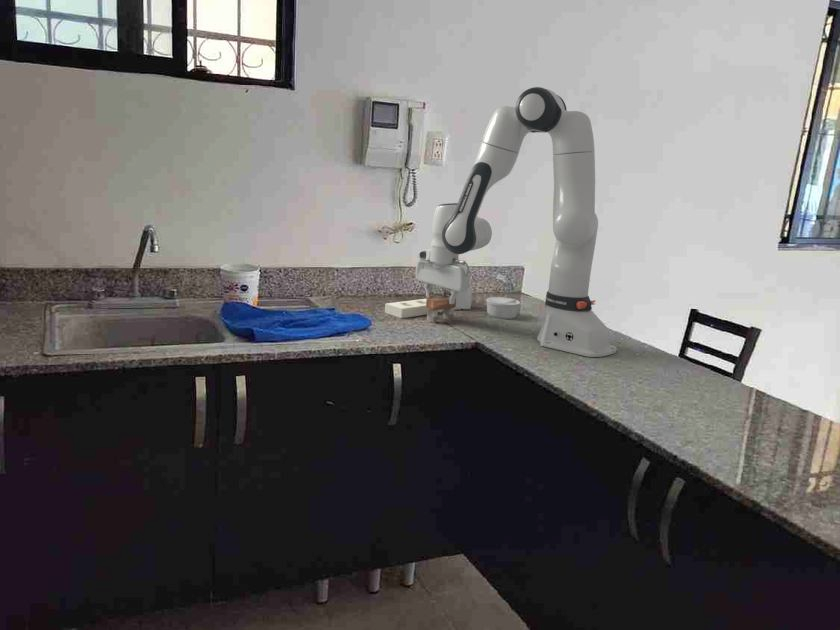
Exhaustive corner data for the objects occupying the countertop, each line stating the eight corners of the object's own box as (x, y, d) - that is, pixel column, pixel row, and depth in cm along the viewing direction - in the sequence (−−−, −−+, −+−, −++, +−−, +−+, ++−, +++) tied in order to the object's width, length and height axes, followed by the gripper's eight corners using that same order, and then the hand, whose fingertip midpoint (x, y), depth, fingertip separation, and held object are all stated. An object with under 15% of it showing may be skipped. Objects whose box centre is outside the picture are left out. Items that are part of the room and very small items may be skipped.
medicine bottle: (442, 305, 230) (445, 271, 227) (460, 304, 233) (463, 271, 230) (452, 310, 223) (455, 274, 221) (470, 309, 226) (473, 274, 224)
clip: (454, 319, 210) (456, 298, 208) (431, 323, 203) (433, 301, 201) (447, 317, 212) (449, 296, 210) (424, 321, 205) (426, 299, 204)
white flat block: (442, 312, 219) (442, 303, 218) (401, 318, 207) (401, 308, 206) (425, 307, 225) (426, 298, 224) (384, 312, 213) (385, 303, 212)
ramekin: (520, 321, 215) (522, 305, 214) (486, 318, 215) (487, 302, 214) (516, 313, 226) (518, 298, 224) (483, 311, 226) (485, 295, 225)
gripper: (476, 261, 198) (471, 306, 201) (428, 250, 212) (424, 293, 215) (461, 262, 194) (457, 308, 197) (414, 251, 208) (410, 294, 211)
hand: (439, 300), depth 206 cm, fingers open, 8 cm apart
